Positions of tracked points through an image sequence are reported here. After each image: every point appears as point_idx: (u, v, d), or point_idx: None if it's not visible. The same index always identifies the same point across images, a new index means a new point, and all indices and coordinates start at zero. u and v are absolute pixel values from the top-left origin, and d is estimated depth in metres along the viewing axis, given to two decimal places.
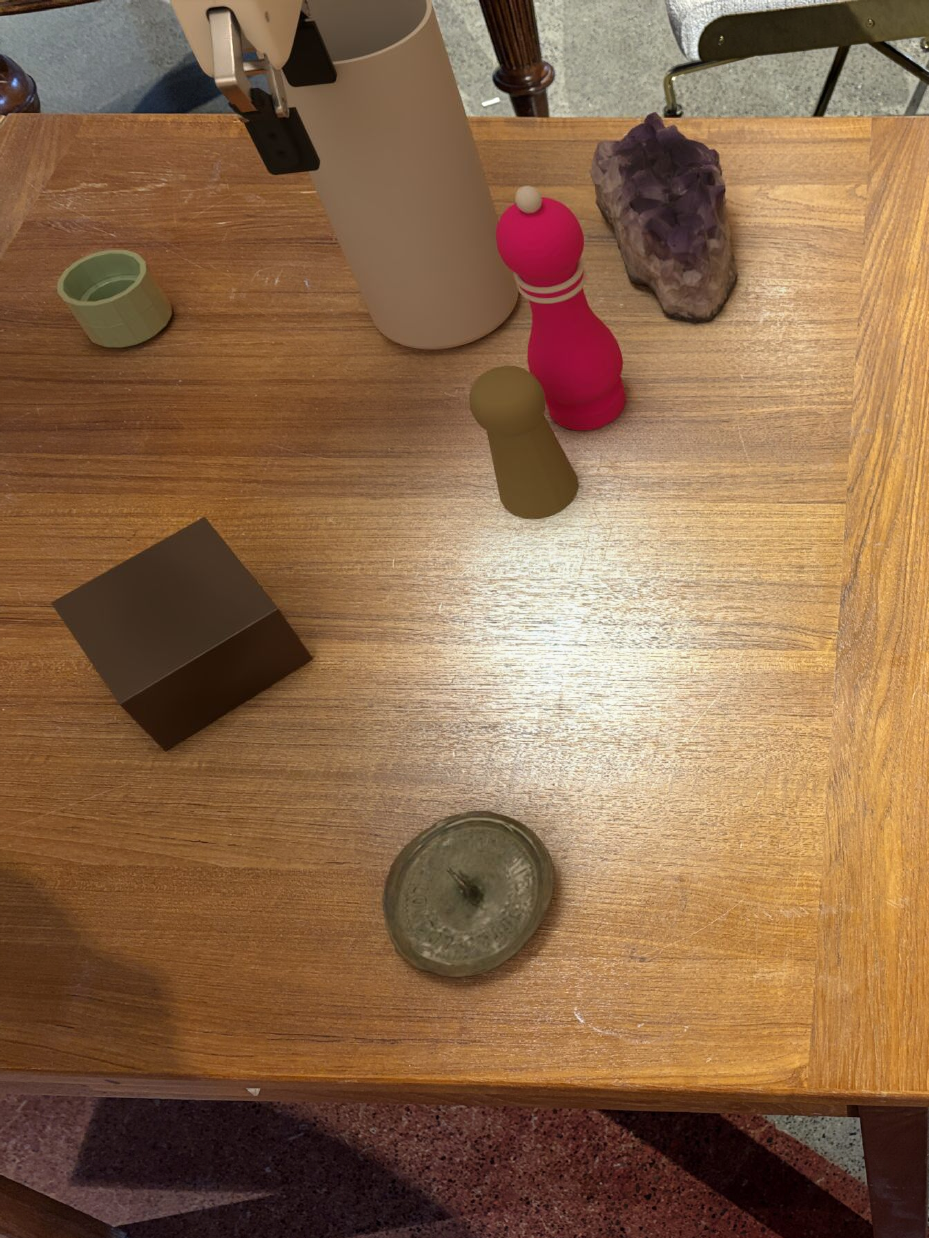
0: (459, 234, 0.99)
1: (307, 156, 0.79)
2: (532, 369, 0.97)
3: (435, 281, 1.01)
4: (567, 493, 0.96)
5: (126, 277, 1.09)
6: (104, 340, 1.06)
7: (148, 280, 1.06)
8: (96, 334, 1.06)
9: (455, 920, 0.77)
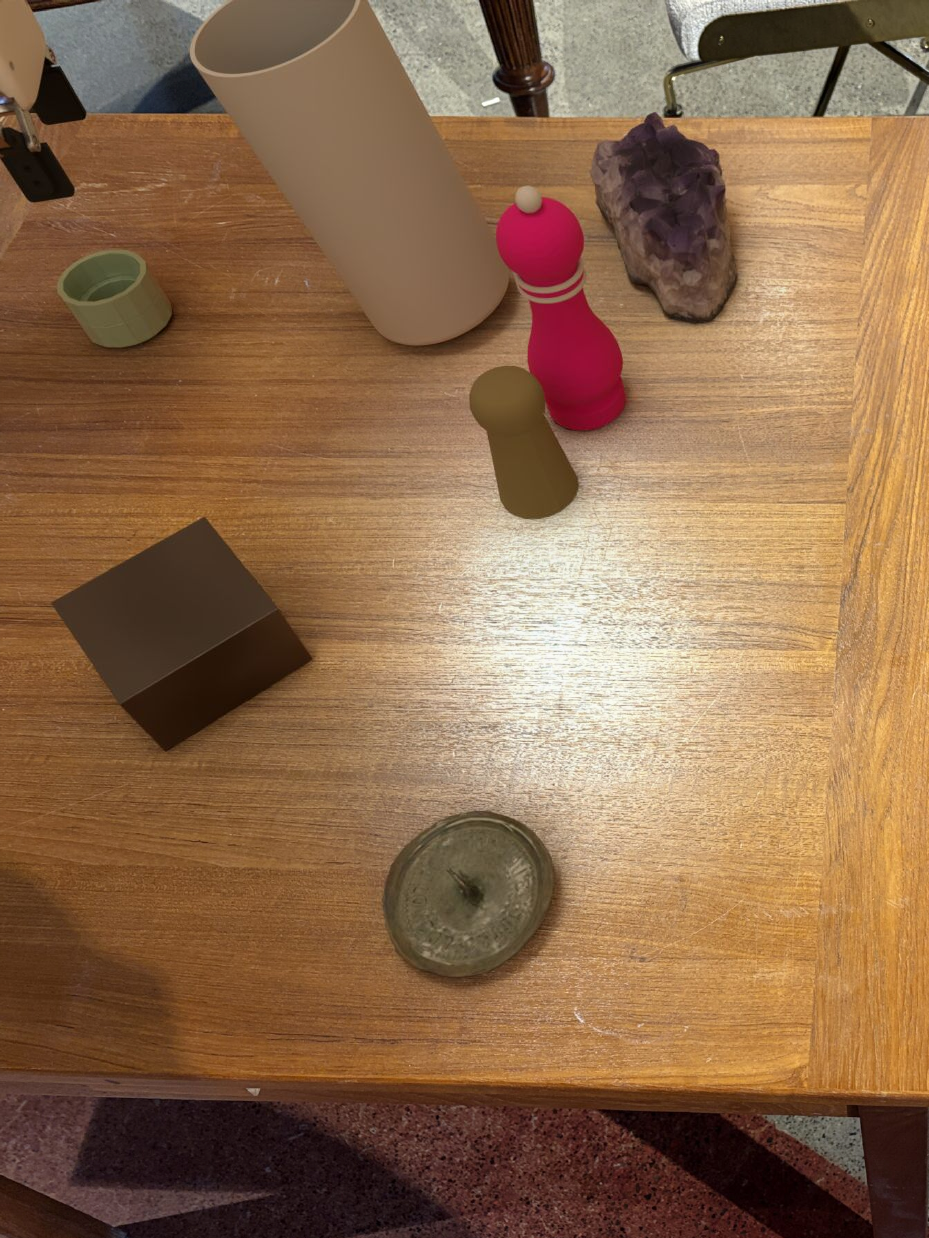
0: (433, 223, 0.98)
1: (62, 184, 0.91)
2: (532, 369, 0.97)
3: (419, 274, 1.00)
4: (567, 493, 0.96)
5: (126, 277, 1.09)
6: (104, 340, 1.06)
7: (148, 280, 1.06)
8: (96, 334, 1.06)
9: (455, 920, 0.77)
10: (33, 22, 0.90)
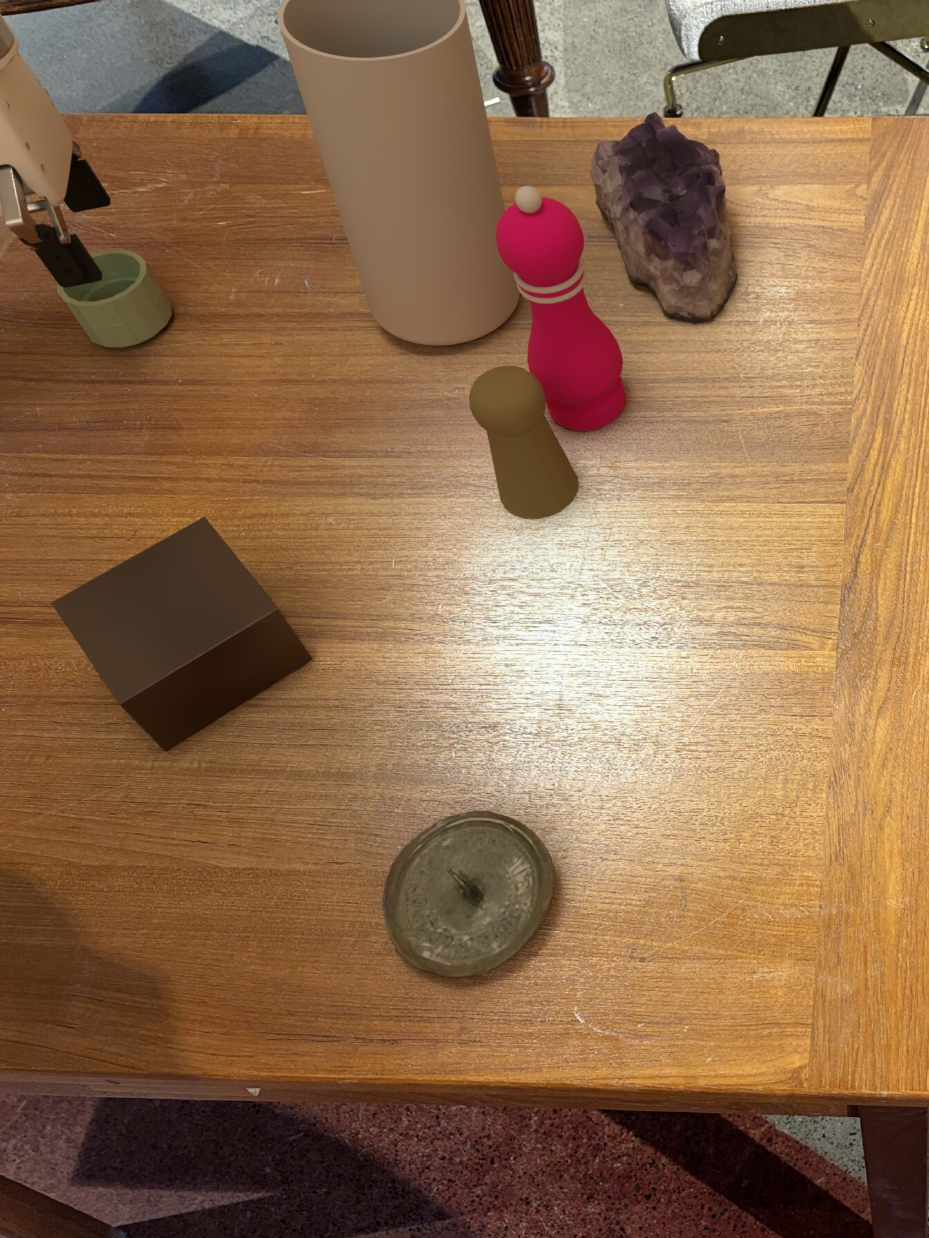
0: (477, 231, 0.99)
1: (90, 271, 0.99)
2: (532, 369, 0.97)
3: (450, 277, 1.01)
4: (567, 493, 0.96)
5: (126, 277, 1.09)
6: (104, 340, 1.06)
7: (148, 280, 1.06)
8: (96, 334, 1.06)
9: (455, 920, 0.77)
10: (60, 123, 0.98)
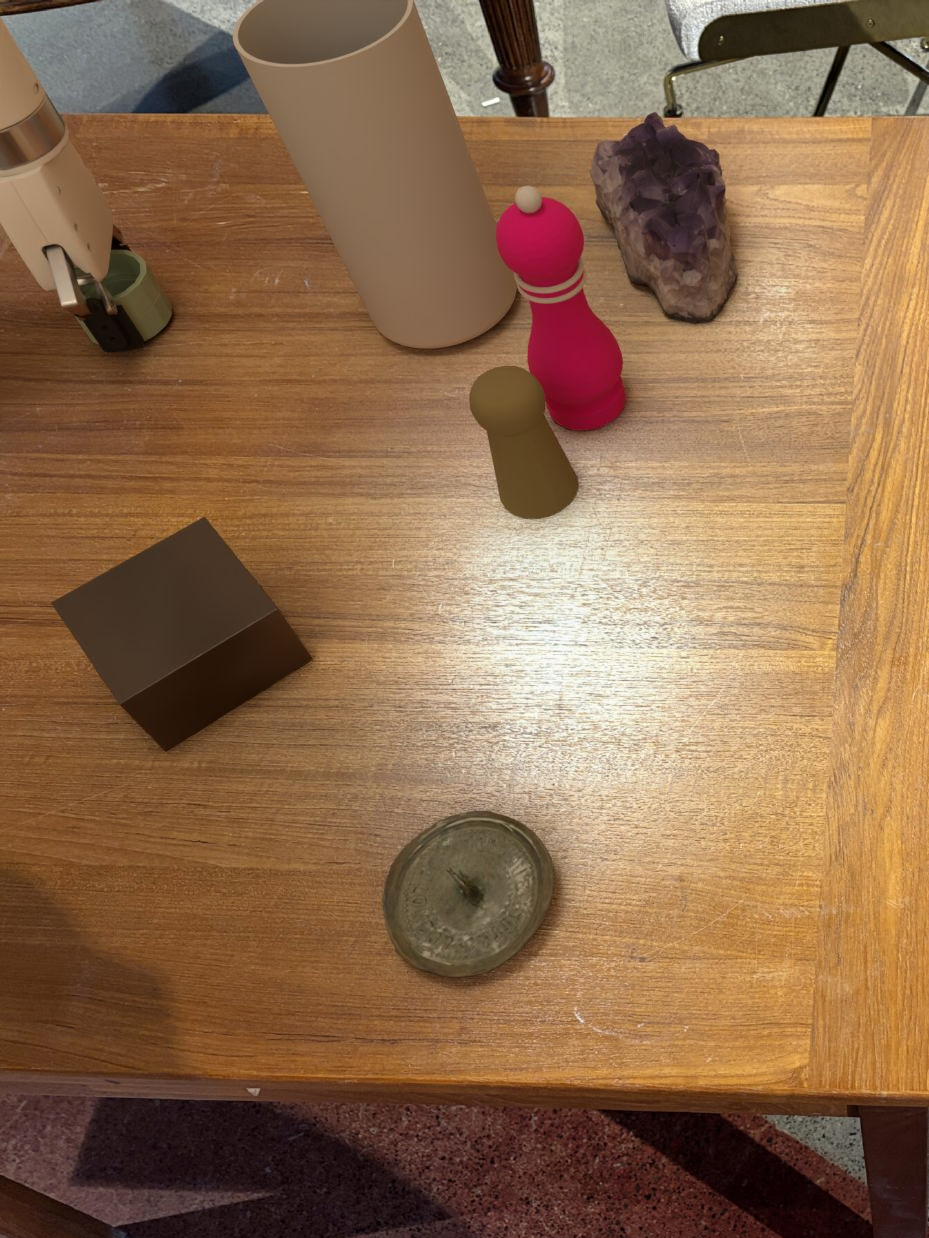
0: (458, 226, 0.99)
1: (133, 338, 1.06)
2: (532, 369, 0.97)
3: (438, 277, 1.01)
4: (567, 493, 0.96)
5: (126, 277, 1.09)
6: None
7: (148, 280, 1.06)
8: None
9: (455, 920, 0.77)
10: (103, 200, 1.04)
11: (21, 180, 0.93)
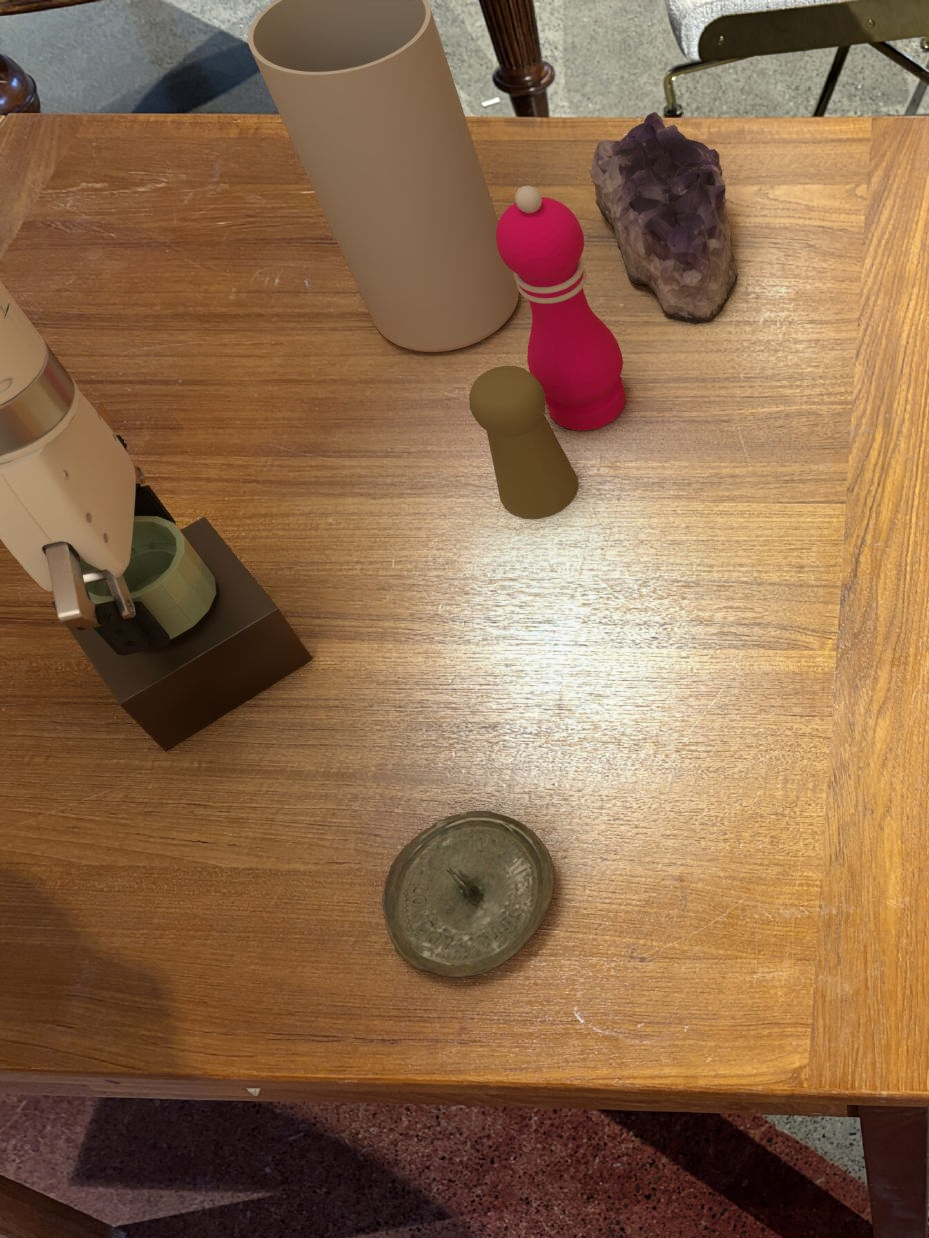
0: (467, 233, 0.99)
1: (156, 637, 0.80)
2: (532, 369, 0.97)
3: (446, 282, 1.01)
4: (567, 493, 0.96)
5: (157, 547, 0.84)
6: None
7: (187, 560, 0.81)
8: None
9: (455, 920, 0.77)
10: (123, 459, 0.78)
11: (14, 470, 0.68)
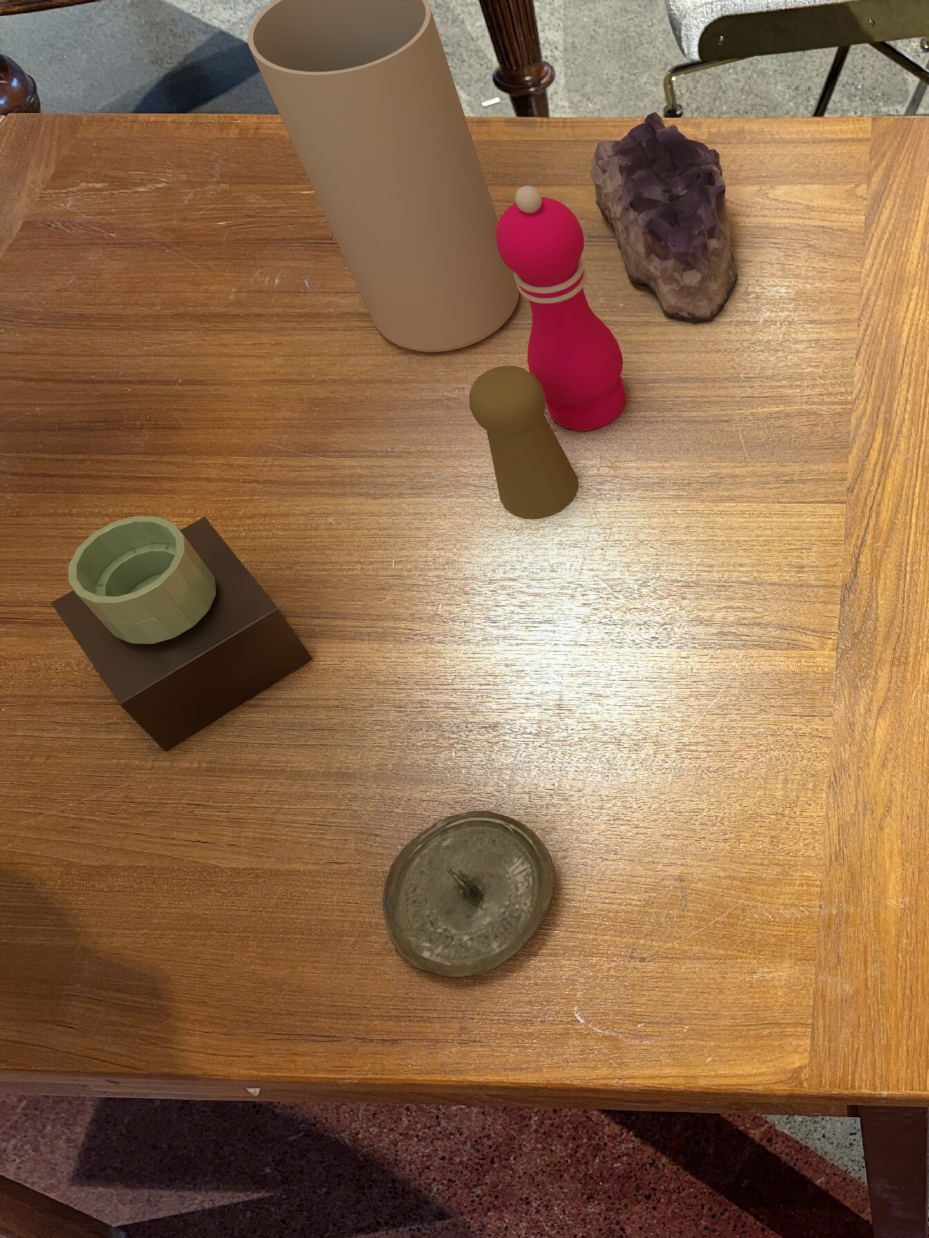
0: (467, 233, 0.99)
1: None
2: (532, 369, 0.97)
3: (446, 282, 1.01)
4: (567, 493, 0.96)
5: (157, 547, 0.84)
6: (129, 636, 0.82)
7: (187, 560, 0.81)
8: (119, 631, 0.81)
9: (455, 920, 0.77)
10: None
11: None
